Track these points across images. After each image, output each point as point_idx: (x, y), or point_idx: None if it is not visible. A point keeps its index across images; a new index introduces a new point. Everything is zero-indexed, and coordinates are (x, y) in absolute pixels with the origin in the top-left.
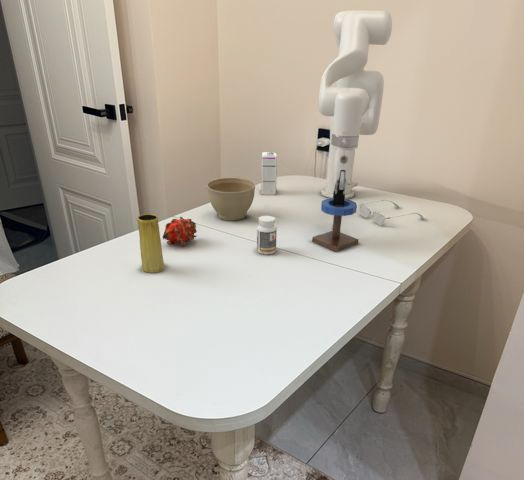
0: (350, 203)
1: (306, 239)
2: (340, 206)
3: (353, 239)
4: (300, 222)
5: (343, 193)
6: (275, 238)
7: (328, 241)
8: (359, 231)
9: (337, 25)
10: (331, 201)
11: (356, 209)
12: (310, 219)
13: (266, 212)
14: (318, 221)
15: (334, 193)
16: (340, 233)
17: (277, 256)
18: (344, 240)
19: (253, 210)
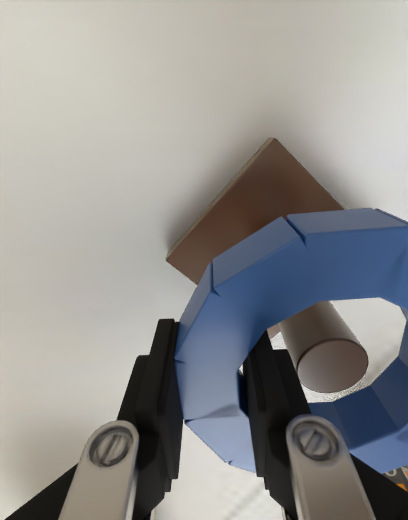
0: (335, 293)
1: None
2: (348, 357)
3: (279, 167)
4: (75, 373)
5: (340, 448)
6: (402, 468)
7: None
8: (88, 127)
9: None
10: None
11: (381, 213)
12: (25, 344)
13: (26, 463)
14: (34, 316)
15: (178, 461)
16: (206, 233)
17: None
18: (296, 213)
19: (26, 490)
